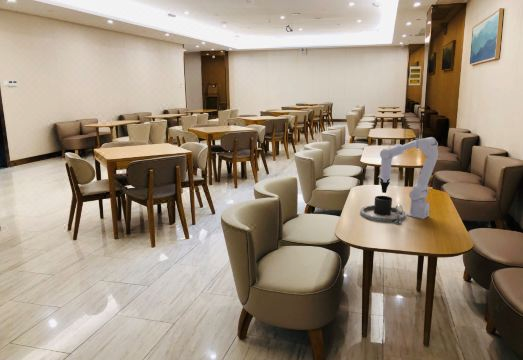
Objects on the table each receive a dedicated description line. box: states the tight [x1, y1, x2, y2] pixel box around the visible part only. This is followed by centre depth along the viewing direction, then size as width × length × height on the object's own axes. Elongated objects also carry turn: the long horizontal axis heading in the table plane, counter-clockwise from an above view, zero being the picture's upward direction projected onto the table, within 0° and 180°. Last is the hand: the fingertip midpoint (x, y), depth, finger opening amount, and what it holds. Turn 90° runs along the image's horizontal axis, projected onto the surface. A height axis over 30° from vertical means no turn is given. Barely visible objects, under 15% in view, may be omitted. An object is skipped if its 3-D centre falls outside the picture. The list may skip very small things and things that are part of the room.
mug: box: [373, 195, 393, 217], centre depth 234 cm, size 9×12×9 cm
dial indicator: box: [393, 204, 404, 226], centre depth 216 cm, size 5×3×10 cm, turn 16°
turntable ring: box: [359, 204, 406, 223], centre depth 230 cm, size 24×24×2 cm
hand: (384, 191), depth 244 cm, fingers open, 6 cm apart
